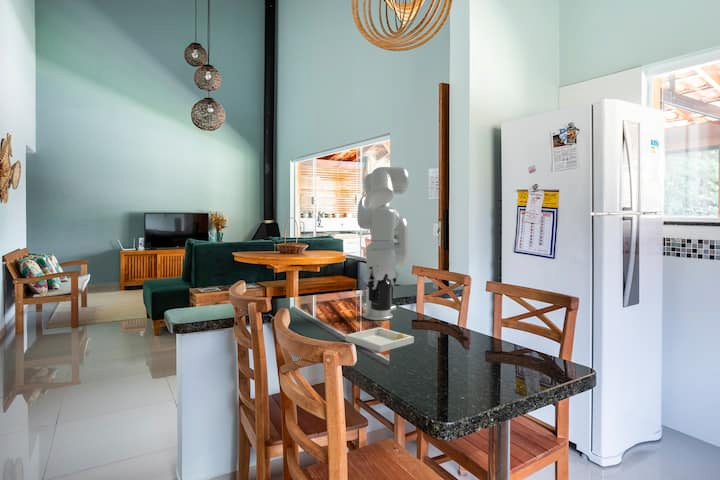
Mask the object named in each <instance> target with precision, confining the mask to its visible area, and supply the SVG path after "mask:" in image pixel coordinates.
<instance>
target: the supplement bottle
mask: <svg viewBox="0 0 720 480" xmlns="http://www.w3.org/2000/svg"><path fill="white" fill-rule="evenodd" d="M387 275H388V274H385V277H384V278H383V280H382V281H378V284H377V286H376V289H377V301H376V302H374V301H371V309H372V310H376V311H387V310H390V309H391V306H392V299H391V287H392V286H391V282H390V281H388V279H389V278H388V276H387ZM372 284H374V282H373V283H372Z"/></svg>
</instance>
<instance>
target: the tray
mask: <svg viewBox="0 0 720 480" xmlns="http://www.w3.org/2000/svg"><path fill="white" fill-rule="evenodd" d="M400 333H401V332H398V331H394V330H391V329H388V328H383V327H381V326H379V327H373V328H370V329H365V330H362V331H361V330H360V331H357V332H353V333H349V334H347V333H346V334H345V342H348V343H350V344H353V345H358V346H360V347H363V348H366V349H369V350H372V351H375V352H378V353H384V352H386V351H387V352H388V351H390V350H394V349H396V348H397V349H398V348H401V347H404V346H408V345H411V344H414V342H415V336H412V335H409V334H406V333H403V334H404V335H405V337H406V338H402V339H398V340H397V335H398V334H400Z"/></svg>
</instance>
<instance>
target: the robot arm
mask: <svg viewBox="0 0 720 480" xmlns="http://www.w3.org/2000/svg"><path fill="white" fill-rule="evenodd" d="M409 181H410V175H409V172H408V170H407V169H406V168H404V167H402V166H400V167H399V166H380V167H376V168H375V169H373V170H372V172H370V173H368V174H366V175H365V177H364V190H365V194H364V195H363V196H362V197H360V199H359V202H358V206H357V213H356V214H357V215H356V216H357V217H356V221H357V224H358V225H357V226H359V228H361V229H363V230H369V234H370V243H368V244H367V245H366V248H365V260H366V265H365V274H364V275H363V277H362V280H363V281H364V283H365V284H364V285H366V311H365V312H363V313H362V317H363V318H364V319H367V320H372V321H387V320H388V321H389V320H390V319H393V313H391V312H392V311H396V310H397V306H396V305H391V309H390V310H387V311H376V310H372V309H371V301H374V302H376V301H377V289H376V286H377V284H378V281H382V280H383V278H384V277H385V274H388V275H387V276H388V278H389V279H388V281H390V282H391V286H392V287H391V300H393V299H394V287H395V286H396V285H395V284H396V282H397V279H398V278H399V275H400V274H399V273H398V271H397V270H396V269H397V268H396V267H397V266H403V265H406V263H407V262H408V259H409V226H408V220H407V219H406V218H405V217H404V216H400V214H399V212H398V211H397V210H396V209H395V208H392V207H391V204H390V203H391V201H393V199H394V195H403V194H405V192H407V189H408V187H409V183H410V182H409ZM373 282H374V284H372V283H373Z"/></svg>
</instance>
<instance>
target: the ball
mask: <svg viewBox="0 0 720 480" xmlns="http://www.w3.org/2000/svg"><path fill="white" fill-rule="evenodd" d="M399 333H400V334H398V335H397V340H398V339H402V338H406V337H405V335H404V334H405V333H402V332H399Z"/></svg>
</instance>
